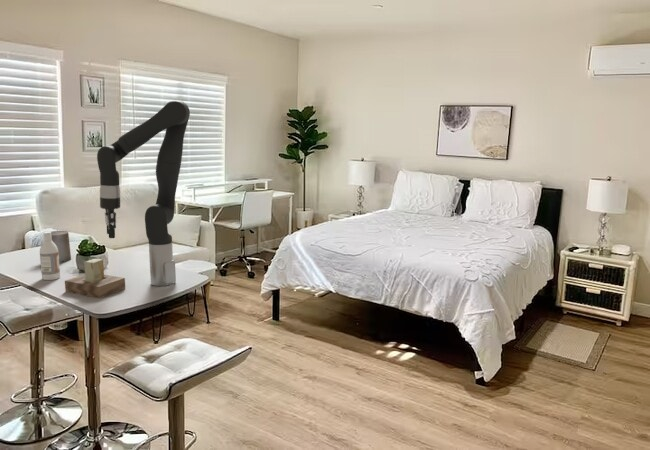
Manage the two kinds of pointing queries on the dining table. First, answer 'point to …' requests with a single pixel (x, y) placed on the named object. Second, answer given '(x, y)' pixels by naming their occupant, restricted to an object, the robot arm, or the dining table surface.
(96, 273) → the skincare box
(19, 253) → the dining table surface
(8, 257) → the dining table surface
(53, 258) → the bath foam
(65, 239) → the pillar candle
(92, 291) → the walnut holder block
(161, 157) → the robot arm
